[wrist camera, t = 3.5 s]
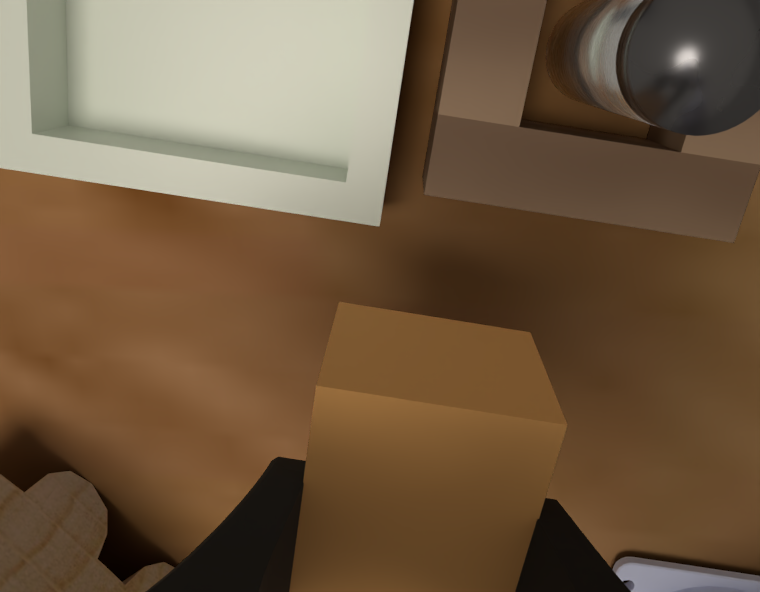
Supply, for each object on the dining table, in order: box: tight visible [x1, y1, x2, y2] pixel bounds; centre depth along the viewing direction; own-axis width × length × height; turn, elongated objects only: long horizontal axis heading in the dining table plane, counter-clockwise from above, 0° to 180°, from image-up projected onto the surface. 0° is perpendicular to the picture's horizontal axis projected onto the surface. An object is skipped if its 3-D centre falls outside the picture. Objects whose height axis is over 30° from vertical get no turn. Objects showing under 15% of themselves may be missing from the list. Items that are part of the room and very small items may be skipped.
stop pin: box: [546, 0, 760, 136], centre depth 14 cm, size 3×3×7 cm
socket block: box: [422, 0, 760, 243], centre depth 17 cm, size 8×8×2 cm
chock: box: [289, 302, 568, 592], centre depth 13 cm, size 6×4×4 cm, turn 171°
